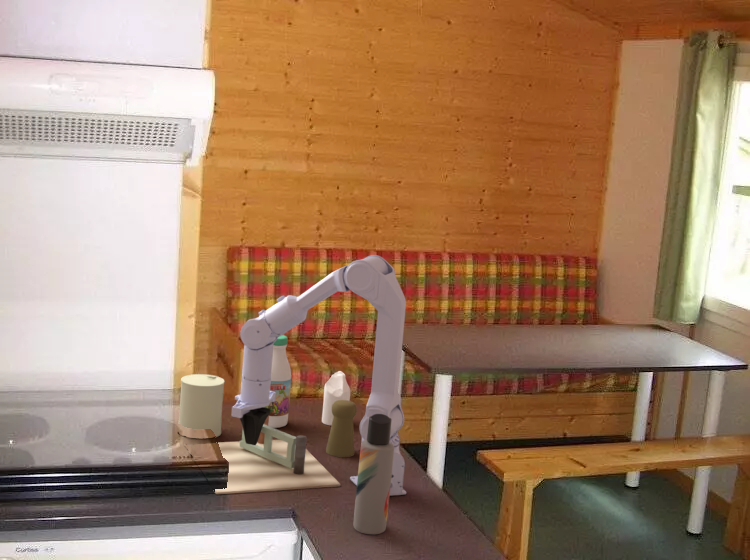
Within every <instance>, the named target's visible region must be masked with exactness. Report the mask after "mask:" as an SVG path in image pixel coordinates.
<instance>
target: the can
mask: <svg viewBox="0 0 750 560" xmlns="http://www.w3.org/2000/svg"><path fill="white" fill-rule="evenodd" d="M225 382H226V381H225V379H224V378H222V377H219V376H218V375H213V374H203V373H196V374H195V373H194V374H188V375H184V376H182V377H181V378H180V396H179V398H180V399H179V413H178V424H181V425H182V426H184V427H187V428H192V429H211V430H212V431H213V432H214V434H215V436H216V437H215V438H218V437H219V436H221V434H222V416H223V415H222V414H223V400H224V389H225V388H224V387H225Z"/></svg>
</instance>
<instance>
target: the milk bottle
mask: <svg viewBox="0 0 750 560" xmlns="http://www.w3.org/2000/svg"><path fill="white" fill-rule="evenodd" d="M288 341H289V340H288V336H287V335H285V334H283V335H282V336H280V337H278V339H277V340H276V341H275V342H274V344H273V359H272V371H271V384H270V391H274V392H276V397H275V401H274V402H270V404H269V405H268V406H266V407H264V408H269V409H270V414H269V423H268V426H269V427H272V428H275V429H277V428H283V427H285V426H286V425H287V424H288V421H289V412H290V411H289V410H290V400H291V385H292V369H291V365H290V362H289V360H288V359H289V358H288V356H287V350H286V348H287V347H288Z"/></svg>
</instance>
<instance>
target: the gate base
mask: <svg viewBox="0 0 750 560" xmlns="http://www.w3.org/2000/svg"><path fill="white" fill-rule="evenodd" d="M268 423H269V415H268V417H267V419H266V420H265V422H264V425H267V426H268ZM295 437H296V446H295V457H294V468H289V467H286V466H284V465H282V464H279V463H277V462H275V461H272V460H270V459H268V458H265V457H263V456H260V455H258V454H256V453H253V452H251V451H249V450H246V449H244V448H242V447H240V441H241V440H239V441H224V442H221V441H220V442H219V441H218V444H219V447H220V450H221V453H222V456H223V458H225V459H226V460H227V461H228V462H229V473H228V482H227V488H225V489H224V488H223V489H215V492H214V493H215V494H216V495H226V494H227V495H228V494H243V493H255V492H256V493H258V492H273V491H274V492H275V491H288V490H289V491H290V490H303V489H318V488H319V489H320V488H321V489H322V488H330V487H331V488H333V487H336V488H337V487H341V483H340V482H339V481H338V480H337V479H336V478H335V477H334V476H333V475H332V474H331V472H329V471H328V470H327V469H326V468H325V466H323V465H322V464H321V462H319V460H317V458H315V457H314V455H312V454H311V452H310V451H309V450H308V449H307V440H308V437H307V436H306V435H302V434H301V435H300V434H298V435H296V436H295ZM264 438H265V433H262V432H260V436H259V439H258V442H257V444H256V445H258V446H260V447H263V448H264ZM287 445H288V443H287V442H285V441H282V440H280V439H272V449H271V451H272V452H275V453H277V454H279V455H282V456H284V457H287Z"/></svg>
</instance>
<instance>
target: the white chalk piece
mask: <svg viewBox="0 0 750 560" xmlns="http://www.w3.org/2000/svg"><path fill="white" fill-rule="evenodd" d="M350 399H351V388H350V386H349V384H348V382H347V379H346V374H345V373H344V372H343V371H342V370H338V371H336V372H334V374H331V377H330V378H329V379H328V381H326V383H325V384H324V389H323V403H322V404H323V405H322V415H321V423H323V424H324V425H327V426H332V421H333V417H334V416H333V414H332V405H333V403H334V402H335V401H337V400H348V401H351V400H350Z"/></svg>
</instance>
